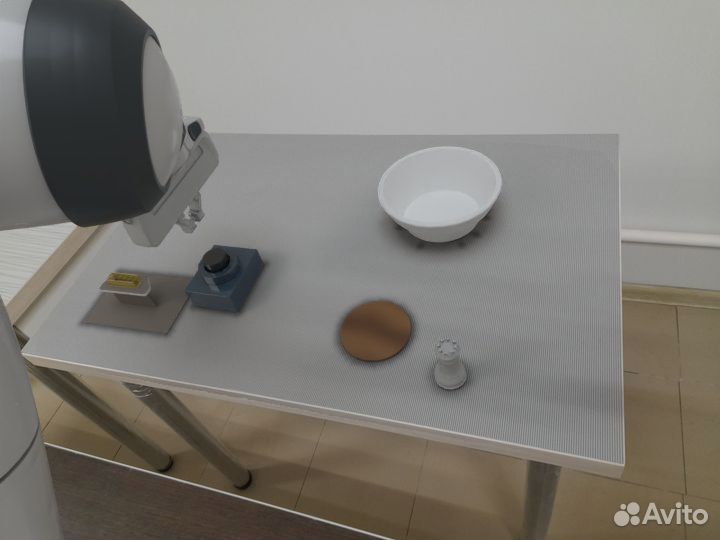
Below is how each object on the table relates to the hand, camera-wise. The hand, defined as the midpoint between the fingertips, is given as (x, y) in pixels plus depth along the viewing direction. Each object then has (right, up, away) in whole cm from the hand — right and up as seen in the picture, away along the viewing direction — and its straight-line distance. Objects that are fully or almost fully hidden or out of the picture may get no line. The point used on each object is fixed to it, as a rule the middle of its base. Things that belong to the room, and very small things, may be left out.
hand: (195, 224), depth 82 cm
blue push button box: (+3, -10, +11) cm, 15 cm away
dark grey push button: (+2, -6, +7) cm, 9 cm away
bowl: (+41, +2, +12) cm, 43 cm away
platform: (-14, -13, +13) cm, 23 cm away
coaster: (+29, -17, -2) cm, 33 cm away
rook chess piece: (+39, -22, -9) cm, 46 cm away
